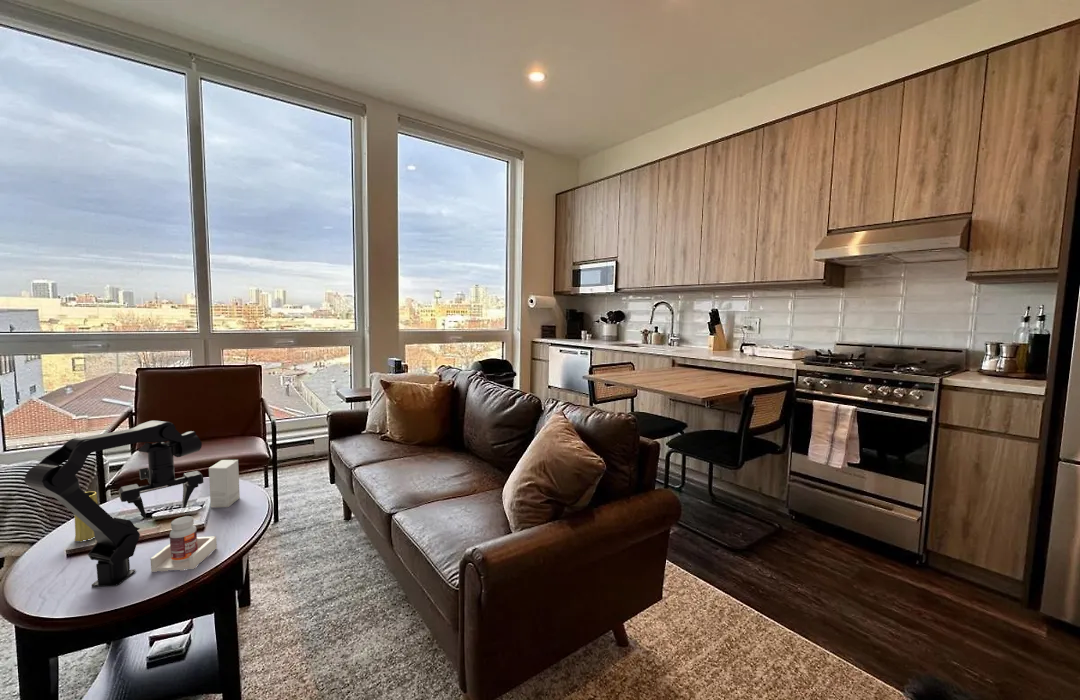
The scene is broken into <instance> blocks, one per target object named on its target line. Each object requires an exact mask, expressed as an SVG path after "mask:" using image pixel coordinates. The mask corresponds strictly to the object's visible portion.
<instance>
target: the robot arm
mask: <svg viewBox="0 0 1080 700" xmlns="http://www.w3.org/2000/svg"><path fill="white" fill-rule="evenodd" d="M138 443H144V445H142V446H141V447H140V448H138V451H137V452H139V453H145V454H146V453H147V464H148V467H144V468H143V467H142V468H139V469H138V471H139V472H138V473H139V474H138V475H139V480H140V481H142V480H145V479H146V480H147V482H148V484H146V485H141V486H139V485H138V483H134V484H129V485H124V486H120V488H119V489H118V497H119V499H120V502H122V503H123V502H124V503H125V502H127V504H133V505H134V506H135V507H136V508H137V510H138V511H139V513H140V514H141V516H142V518H143V519H146V517H147V516H146V511H145V505H144V504H143V498H142V496H141V494H143V493H144V494H145V493H147V492H149V493H150V492H152V491H157V490H161V489H166V488H170V487H174V486H179V485H182V489H183V490H182V502H181V503H182V508H183V509H185V508H186V506H187V504H188V502H189V499H190V497H191V496H192V493H193V491H195V489H197V488H199V485H202V484H204V483H205V482H204V476H203V474H202V473H201V472H200V471H199V470H193V471H188V472H186V473H185V472H184V473H183V475H182V477H178V478H176V475H175V474H176V473H175V462H174V461H175V459H174V458H175V457H176V458H182V457H185V456H187V455H190V454H194V453H196V452H199V451H201V449H202V446H203V444H202V443H203V442H202V441H201V439H200V437H199V436H198V435H197V433H196V431H194V430H193V431H192V430H190V431H186V432H184V433H180V431H178V430H177V429H176V426H175V424H174V423H173V422H170V421H161V420H154V419H153V420H149V421H146V422H143V423H139V424H138V425H136V426H135V427H131V428H128V429H122V430H117V431H112V432H105V433H101V434H95V435H89V436H88V435H87V436H84V437H83V436H82V437H73V438H70V439H69V440H67V441H66V442H65V443H64V444H63V445H62V446H61V447H60V448H58V449H57V450H55V451H54V452H52V453H50V454H48V455H47V456H45V457H44V458H43V459H42V460H41V461H40V462H38V463H37V465H34V466H32V467H31V468H30V469H29V470H28V471H27V472H26V473H25V477H24V479H23V481H24V483H25V484H26V485H27V486H28V487H30V488H31V489H34V490H35V491H38V492H40V493H42V494H45V495H47V496H50V497H52V498H54V499H55V500H56V501H58V502H59V503H61V505H63V506H64V507H65V508H66V509H68V510H69V512H71V513H72V514H73V515H74V514H75V515H76V516H77V517H78V518H79V519H80V520H82V521H83V522H84V523H85V524H86V525H87V526H89V527H90V528H91V529H92V530H93V531H94V536H95V539H94V540H96V543H95V544H94V545H93V547H91V550H89V551H88V553H87V556H88V557H89V559H90V560H92V561H97V563H96V577H97V580H96V581H94V582H93V583H91V587H92V588H93V587H110V586H119V585H120V584H121V583H123V582H124V581H125V580H126V579H128V578H130V576H132V575H133V574H134V573H135V572H137V571H136V569H130V568H131V565H130V558H131V557H133V556H134V555H135V551H136V549H137V544H138V542H139V540H140V537H141V533H140V532H139V530H140V527H136V526H135V524H134V523H133V521H131V520H130V519H126V518H119V517H113V516H111V515H110V514H109V513H108V512H107V511H106V510H105V509H103V507H102V506H100V505H99V504H97V503H98V502H97V503H96V502H95V501H94V500H93V499H91V498H90V497H89V496H88V495H87V494H86V493H85V492H86V491H84V490H83V489H82V488H81V486H80V480H79V478H78V477H77V474H78V473H79V472H80V470H81V469H82V468H83V467H84V464H85V462H86V461H87V458H88V457H89V456H90V455H91V454H92V453H96V452H99V451H104V450H110V449H114V448H119V447H124V446H128V445H135V444H138ZM63 463H64V464H63ZM61 464H63V465H61Z"/></svg>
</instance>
